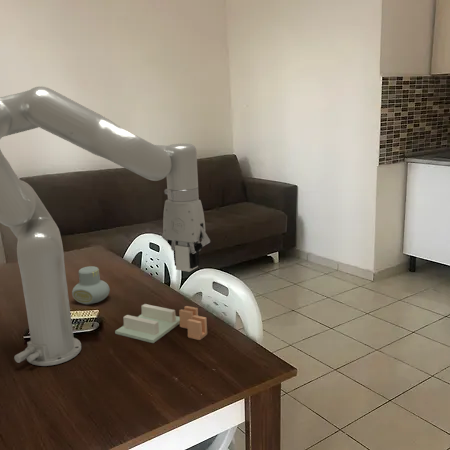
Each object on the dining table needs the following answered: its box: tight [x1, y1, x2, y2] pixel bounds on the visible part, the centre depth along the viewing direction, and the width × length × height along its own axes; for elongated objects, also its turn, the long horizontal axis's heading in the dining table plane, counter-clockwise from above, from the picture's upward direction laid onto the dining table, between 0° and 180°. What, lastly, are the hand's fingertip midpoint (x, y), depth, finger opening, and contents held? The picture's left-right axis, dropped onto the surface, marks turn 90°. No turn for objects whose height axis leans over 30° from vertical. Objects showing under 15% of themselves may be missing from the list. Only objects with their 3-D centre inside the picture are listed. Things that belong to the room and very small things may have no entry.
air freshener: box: [71, 265, 111, 306], centre depth 147 cm, size 11×8×10 cm
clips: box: [178, 305, 208, 341], centre depth 127 cm, size 8×9×5 cm
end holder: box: [114, 303, 180, 344], centre depth 130 cm, size 14×12×4 cm
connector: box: [175, 241, 199, 273], centre depth 124 cm, size 4×4×8 cm
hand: (186, 264), depth 125 cm, fingers closed on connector, 4 cm apart
